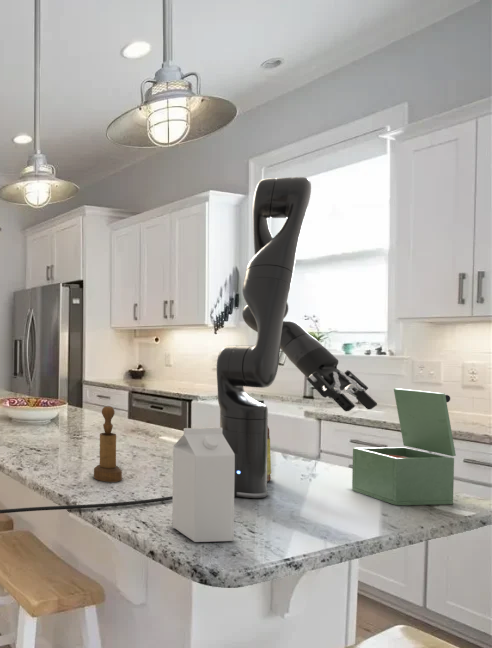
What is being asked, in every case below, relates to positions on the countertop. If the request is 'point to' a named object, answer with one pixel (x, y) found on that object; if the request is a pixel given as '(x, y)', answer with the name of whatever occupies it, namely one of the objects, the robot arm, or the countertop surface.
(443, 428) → the lid
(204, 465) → the milk carton
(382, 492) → the box
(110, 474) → the brown wooden tall piece
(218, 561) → the countertop surface
